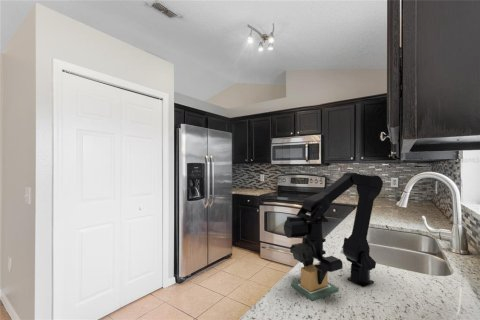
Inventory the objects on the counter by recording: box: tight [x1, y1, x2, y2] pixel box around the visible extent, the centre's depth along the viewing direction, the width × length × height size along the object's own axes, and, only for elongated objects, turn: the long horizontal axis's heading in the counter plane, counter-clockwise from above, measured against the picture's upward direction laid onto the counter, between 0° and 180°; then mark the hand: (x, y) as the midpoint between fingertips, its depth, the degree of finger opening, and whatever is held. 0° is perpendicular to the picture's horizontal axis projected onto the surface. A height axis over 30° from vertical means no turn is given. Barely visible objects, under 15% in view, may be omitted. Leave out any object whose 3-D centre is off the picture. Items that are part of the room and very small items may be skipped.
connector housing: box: [300, 262, 329, 292], centre depth 79 cm, size 8×4×6 cm, turn 118°
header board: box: [290, 279, 339, 302], centre depth 79 cm, size 12×10×4 cm
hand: (314, 280), depth 79 cm, fingers closed on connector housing, 4 cm apart
